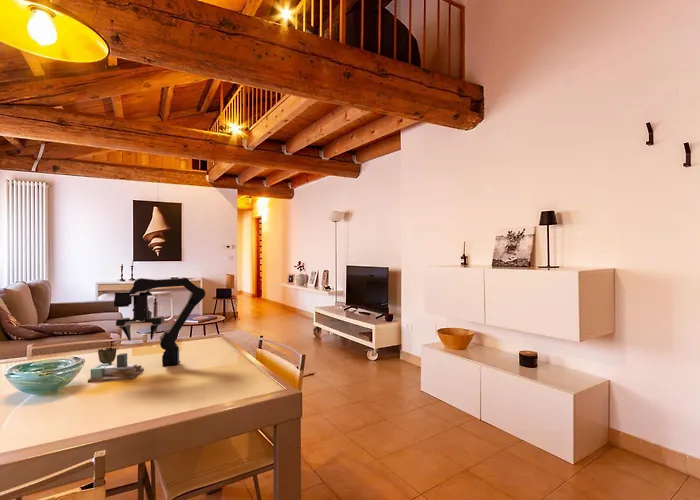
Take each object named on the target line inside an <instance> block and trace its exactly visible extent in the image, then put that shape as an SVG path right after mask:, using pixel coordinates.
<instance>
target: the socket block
mask: <svg viewBox="0 0 700 500" xmlns="http://www.w3.org/2000/svg"><path fill="white" fill-rule="evenodd" d="M100 366H109V364H103V363H99V364H97V365H95V366H94V367H92V368H91V369H90V378H96V377H102V376H103V368H99V367H100Z"/></svg>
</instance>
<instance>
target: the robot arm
mask: <svg viewBox="0 0 700 500" xmlns="http://www.w3.org/2000/svg"><path fill="white" fill-rule="evenodd" d="M171 287H184V288H185V289H186V290H187V291H189V293H190V294H189V295H188V299H187V302H186V303H185V305H184V307H183V309H181V311H180V313H179V315H178V316H177V318H176V319H175V321H174V322H173V324H172V325H171V326H170V328H169V329H168V330H166V329H164V330H163V333H162V334H161V336H159V344H160V348H161V349H162V350H164V351H163V354H162V355H161V362H162V366H161V367H171V366H178V365H179V364H180V363H181V360H180V349H179V348H180V347H179V346H178V344H177V343H176V341H177V338H178V335H179V332H180V330H181V329H182V328H183V326H184V324H185V323H186V321H187V319H188V318H189V316H190V315H191V313H192V312H193V311H194V308H195V307H196V306H197V305H198V304H199V303H201V301H202V300H203V299H204V298H205V297H206V290H205V289H204V288H202V287H200V286H197V285H196V284H194V283H193V282H191V280H190V279H189V278H187V277H178V278H163V279H162V278H161V279H154V278H153V279H152V278H143V277H140V278H136V279H135V280H134V281H133V285H132V287H131V289H129V291H122V292H121V291H116V292H114V299H113V307H114V308H127V307H128V308H129V306H130V305H132V304H133V305H132V306H133V308H132V312H133V317H132V318H130V317H121V318H118V319H116V320H115V327H118V328H119V329H121V330H122V331H123V332H124V334H125V336H126V338H127V340H128V341H131V339H132V338H131V337H132V336H131V335H132V334H131V327H132V326H131V325H132V324H151V325H150V337H149V338H150V340H153V338H154V336H155V333H156V330H157V329H158V327H159V326H161V325H162V324H163V323H165V317H164V316H153V315H152V314H153V312H152V311H150V310H149V302H148V301H149V297H150V296H153V293H152V292H151V291H150V290H153V289H157V288H159V289H160V288H171ZM136 293H138V294H136ZM148 296H149V297H148ZM132 297H133V298H132ZM132 300H133V301H132ZM132 302H133V303H132ZM152 316H153V317H152Z"/></svg>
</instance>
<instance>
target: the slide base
mask: <svg viewBox="0 0 700 500" xmlns="http://www.w3.org/2000/svg"><path fill="white" fill-rule="evenodd" d="M144 370H145V368H144V367H142V364H140V365H137V369H130V370H114V371H112V375H103V376H102V377H96V378H91V377H90V378H89V379H87V383H97V382H99V383H100V382H113V381H129V380H134V379H135V378H136V377H137V376H139V375H140V374H141V373H142V372H143V371H144Z"/></svg>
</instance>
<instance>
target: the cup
mask: <svg viewBox="0 0 700 500" xmlns="http://www.w3.org/2000/svg"><path fill="white" fill-rule="evenodd" d="M117 350H118V349H117V347H112V346H110V347H105V349H103V348H100V349H98V350H97V354H98V361H99V362H100V364H109V366H110V365H113V362H115V359H116V358H117Z"/></svg>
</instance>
